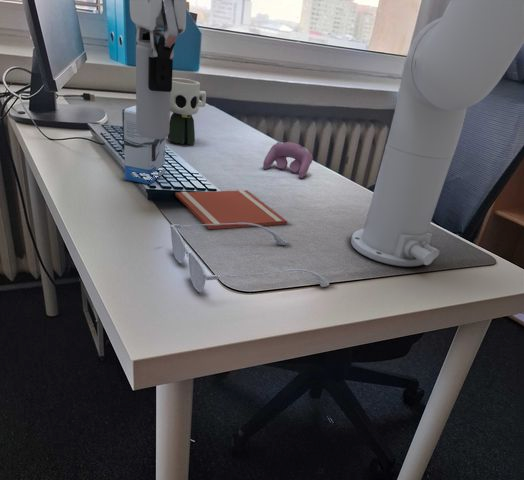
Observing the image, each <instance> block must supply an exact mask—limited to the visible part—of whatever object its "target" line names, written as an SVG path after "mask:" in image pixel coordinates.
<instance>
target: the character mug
mask: <svg viewBox="0 0 524 480" xmlns="http://www.w3.org/2000/svg"><path fill="white" fill-rule="evenodd" d="M200 96H201V101H200ZM206 104H207V92H206V91H205V90H201V83H200V82H199V81H197V80H193V79H189V78H182V77H172V90H171V97H170V113H172V114H170V128H169V134H168V136H167V139H168V140H169V141H170V142H173V143H176V144H185V143H186V144H189V145H190V144H194V143H195V142H196V134H195V133H196V132H195V131H196V130H195V120H194V117H193V115H197V113H198V112H199V110H200V108H204V107H205V106H206Z"/></svg>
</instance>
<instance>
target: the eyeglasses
mask: <svg viewBox="0 0 524 480" xmlns="http://www.w3.org/2000/svg"><path fill="white" fill-rule="evenodd" d="M224 224H247V225H254V226H253V227H259V228H261V229H263V230H264V231H266V232H267V233H269V234H270V235H271V236H272V237H273V238H274V240H275V242H276V244H277V245H280V246H285V245H287V242H286V240H284V239H283V238H282V236H280V235H279V234H278V233H276V232H275V231H273V230H271V229H269V228H268V227H266V226H260V225H257V224H252V223H224ZM205 225H221V224H203V223H202V224H189V225H186V224H185V225H181V224H180V223H177V224H169V229H170V235H171V236H170V238H171V247H172V252H173V255H174V257H175V260H176V261H177V262H178V264H183V263H184V260H185V256H186V258H188V269H189V277H190V281H191V283H192V285H193V288H195V290H196V291H197V292H198V293H202V292H203V290H204V288H205V285H206V281H216V280H219V278H231V277H232V278H233V277H245V276H257V275H266V274H277V273H287V272H288V273H289V272H305V273H308V274H310V275H312V276H313V277H315V279H317V281H318V284H319V285H320V287H322V288H324V287H325V288H326V287H329V286H330V282H329V281H328V280H327V279H326V278H325V277H323V276H322V275H320V274H319V273H317V272H315V271H312V270H309V269H304V268H291V269H283V270H278V271H269V272H259V273H247V274H233V275H218V274H208V273H207V272H206V270H205V268H204V266H203V264H202V263H201V262H200V260H199V258H198V257H197V256H196V255H195V253H194V252H192V251H190V249H189V248H188V247H187V246H186V243H185V241H184V239H183V237H182V235H181V234H180V232H179V231H178V229H181V228H182V227H183V228H184V227H196V226H197V227H198V226H205Z"/></svg>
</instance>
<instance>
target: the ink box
mask: <svg viewBox="0 0 524 480" xmlns="http://www.w3.org/2000/svg"><path fill="white" fill-rule="evenodd" d="M124 109H125V111H124V149H125V150H124V149H123V150H124V180H125V181H131V182H134V183H139V184H145V185H150V184H152V183H154V182H155V181H156V180H157V179H158V178H160V177H161V176H162V175H164V174H165V173H166V172H165V169H166V167H165V168H164V169H163V170H162V171H161V172H159V173H158V175H159V176H160V177H159V176H158V175H157V176H158V178H156V177H155V176H154V177H155V178H156V179H155V178H154V177H152V178H153V179H152V178H151V179H152V180H151V179H150V180H148V181H147V180H144V179H143V178H139V177H133V176H132V175H131V173H132V172H136V173H145V174H151V173H153V172H154V171H156V170H158V169H159V168H161V167H162V166H163V165H164V164H165V165H166V138H164V139H150V138H145V137H142V136H140V135H139V134H138V132H137V130H136V104H135V105H133V106H129V107H126V108H124ZM149 181H150V182H149ZM147 182H148V183H147Z"/></svg>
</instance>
